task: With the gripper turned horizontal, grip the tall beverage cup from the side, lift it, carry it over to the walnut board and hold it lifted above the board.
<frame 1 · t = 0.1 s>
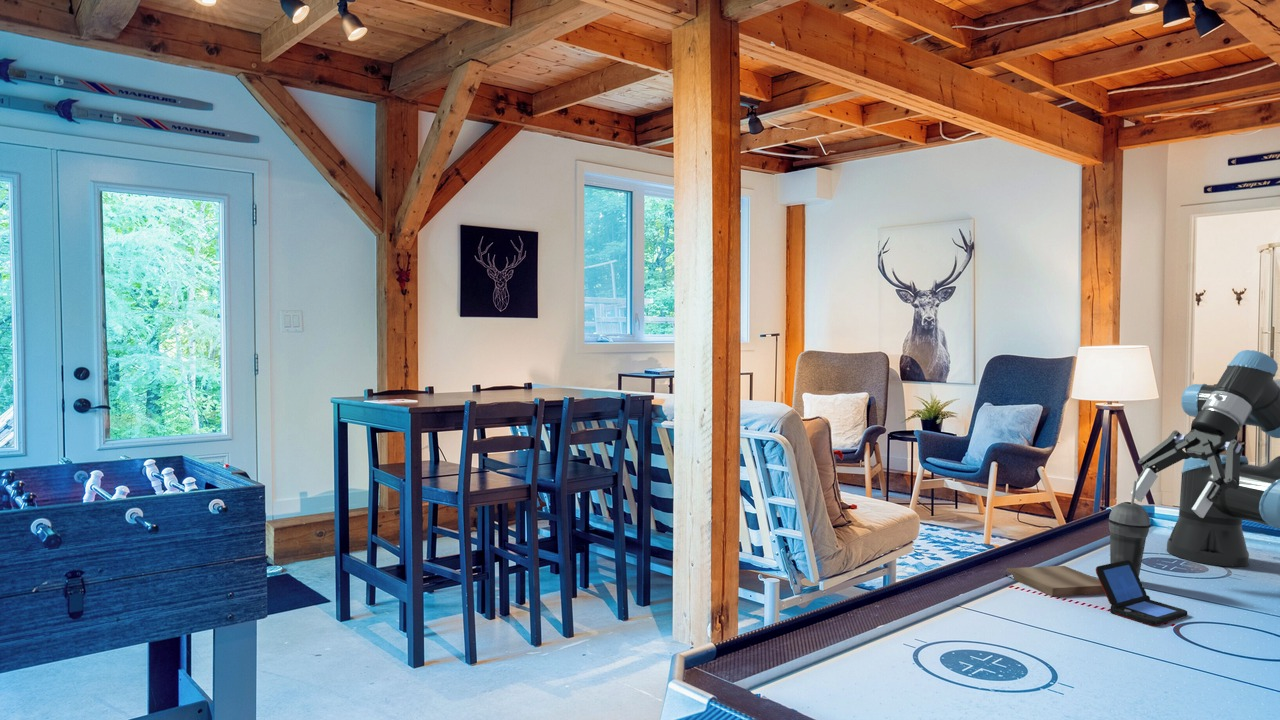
hand: (1165, 505, 165), 15 cm above the table, tool tilted 35°, fingers open, 13 cm apart
beverage cup: (1124, 581, 165), on the table
handheld game console: (1138, 613, 147), on the table
walnut board: (1058, 584, 161), on the table
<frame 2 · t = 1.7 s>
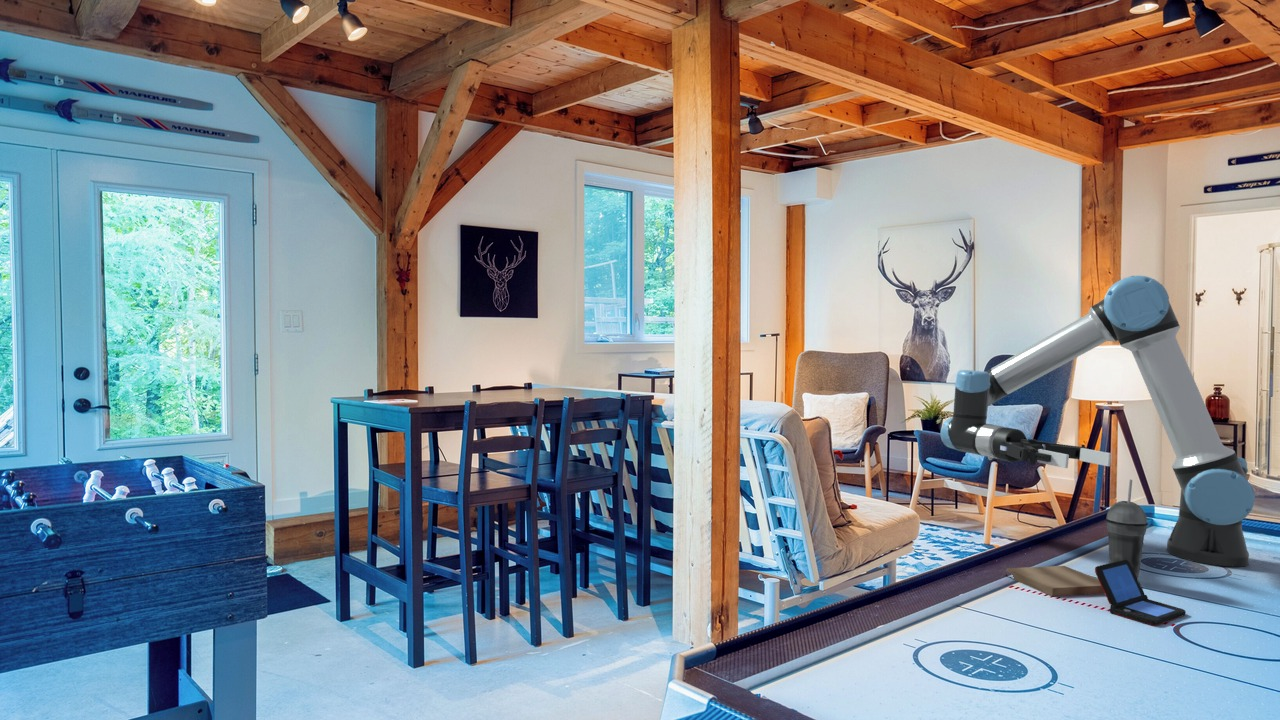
hand: (1089, 460, 172), 22 cm above the table, tool horizontal, fingers open, 13 cm apart
nothing on the table moved.
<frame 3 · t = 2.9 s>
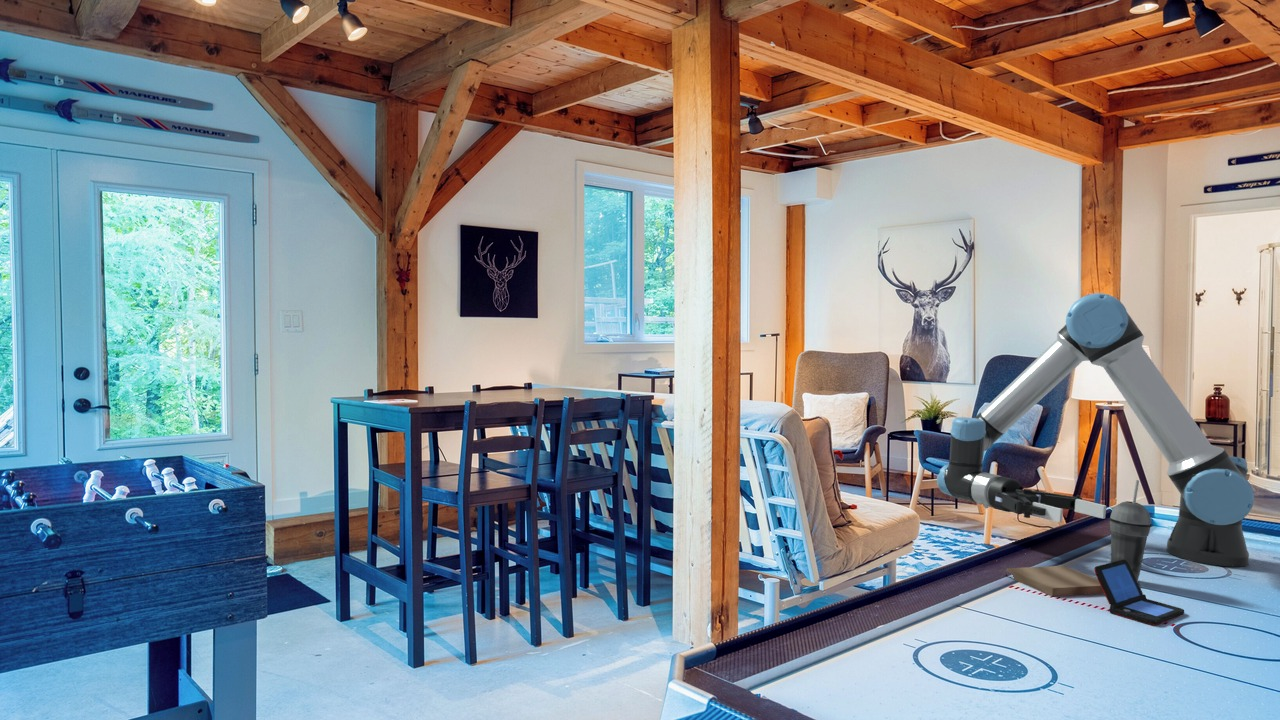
hand: (1083, 514, 173), 11 cm above the table, tool horizontal, fingers open, 13 cm apart
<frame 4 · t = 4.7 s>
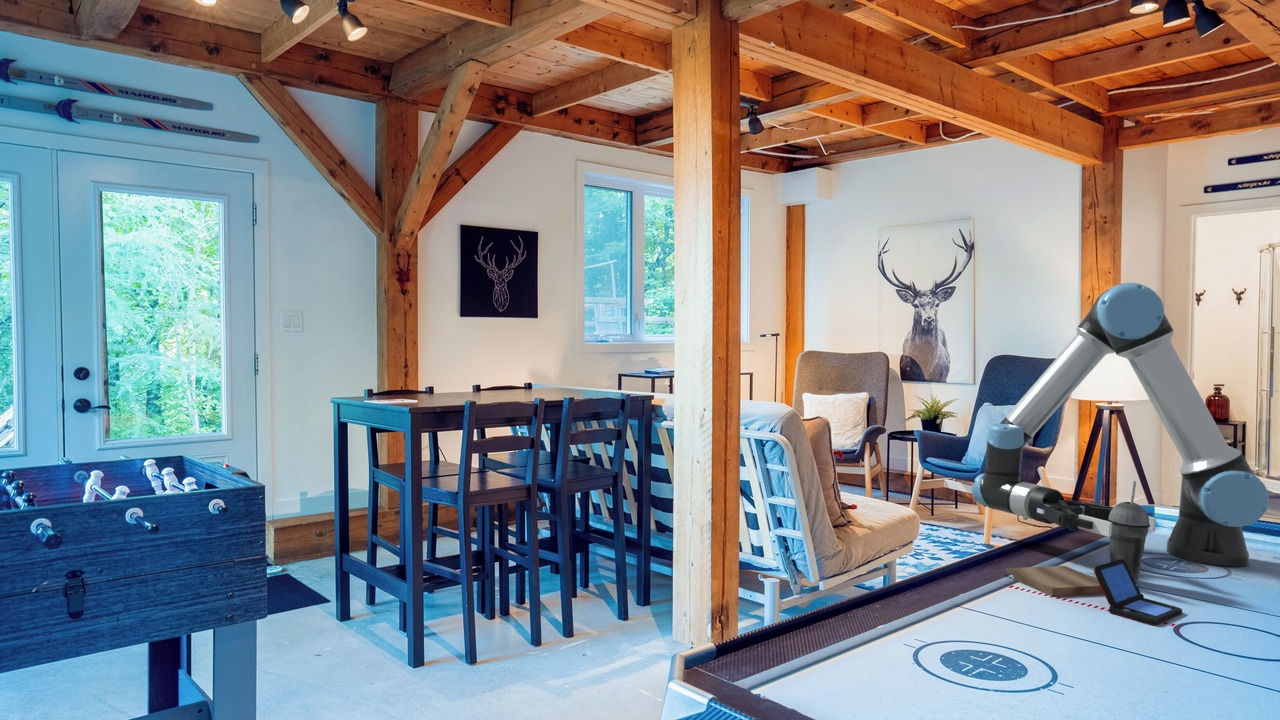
hand: (1133, 527, 164), 11 cm above the table, tool horizontal, fingers open, 13 cm apart
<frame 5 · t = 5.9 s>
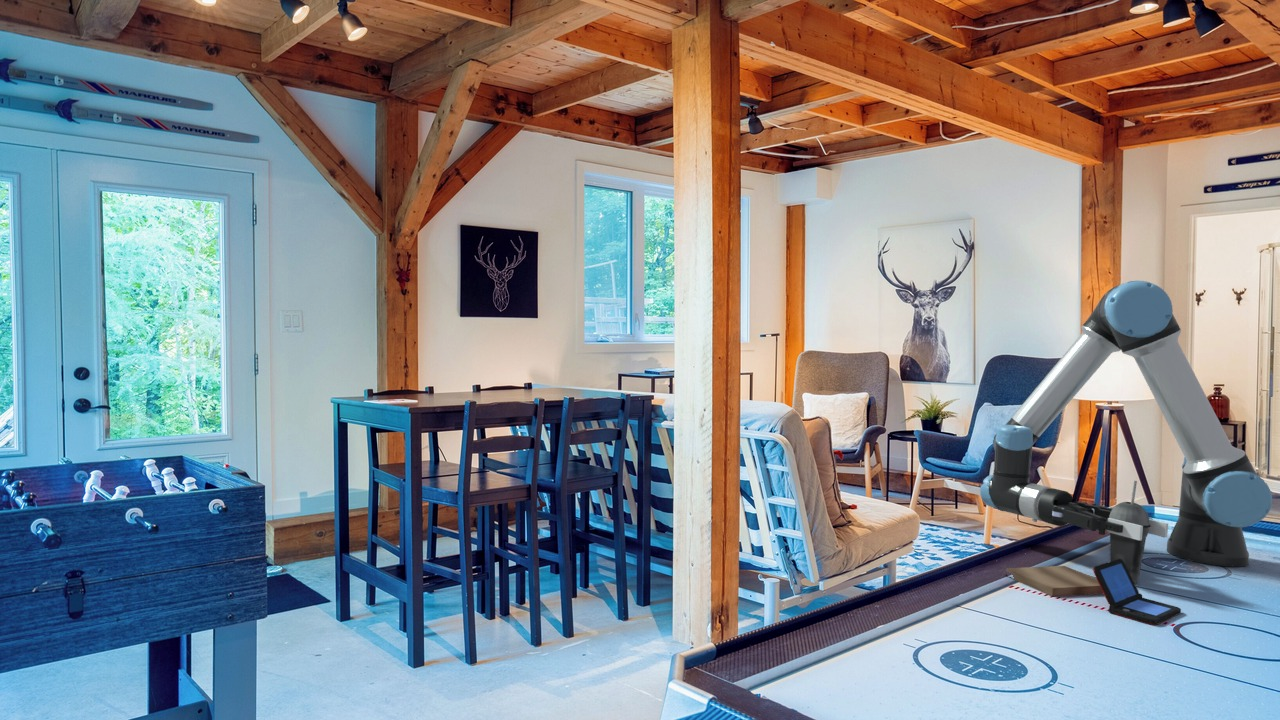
hand: (1153, 531, 160), 11 cm above the table, tool horizontal, fingers closed on beverage cup, 7 cm apart
beverage cup: (1124, 581, 165), on the table, touching gripper
everything else where it was.
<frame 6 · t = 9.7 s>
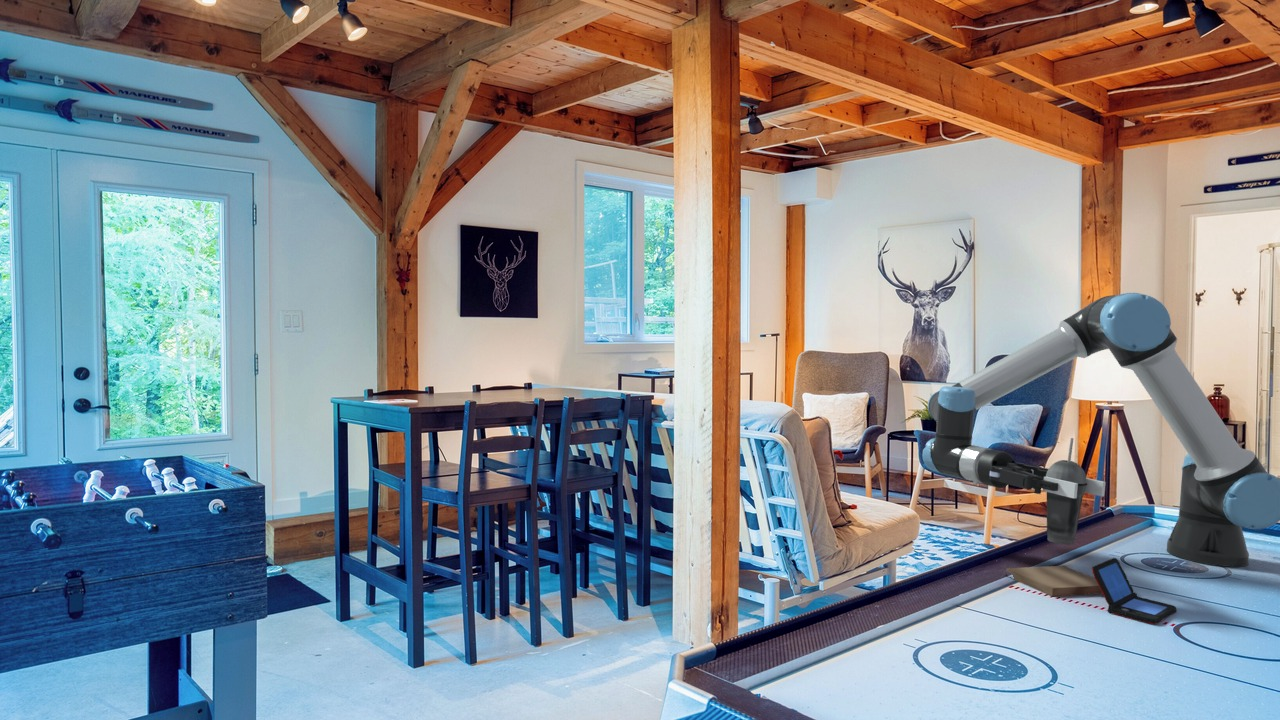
hand: (1089, 490, 155), 19 cm above the table, tool horizontal, fingers closed on beverage cup, 7 cm apart
beverage cup: (1060, 542, 160), point 8 cm above the table, touching gripper
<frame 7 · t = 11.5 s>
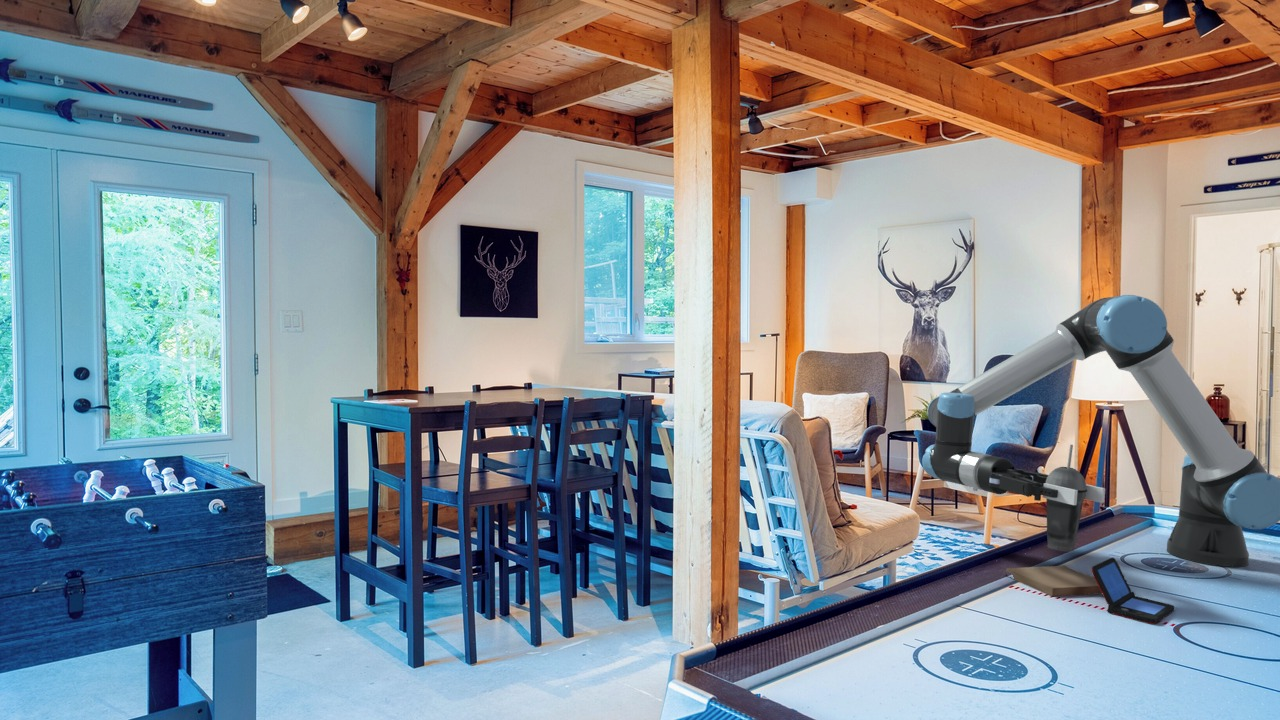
hand: (1089, 496, 155), 18 cm above the table, tool horizontal, fingers closed on beverage cup, 7 cm apart
beverage cup: (1060, 549, 160), point 7 cm above the table, touching gripper
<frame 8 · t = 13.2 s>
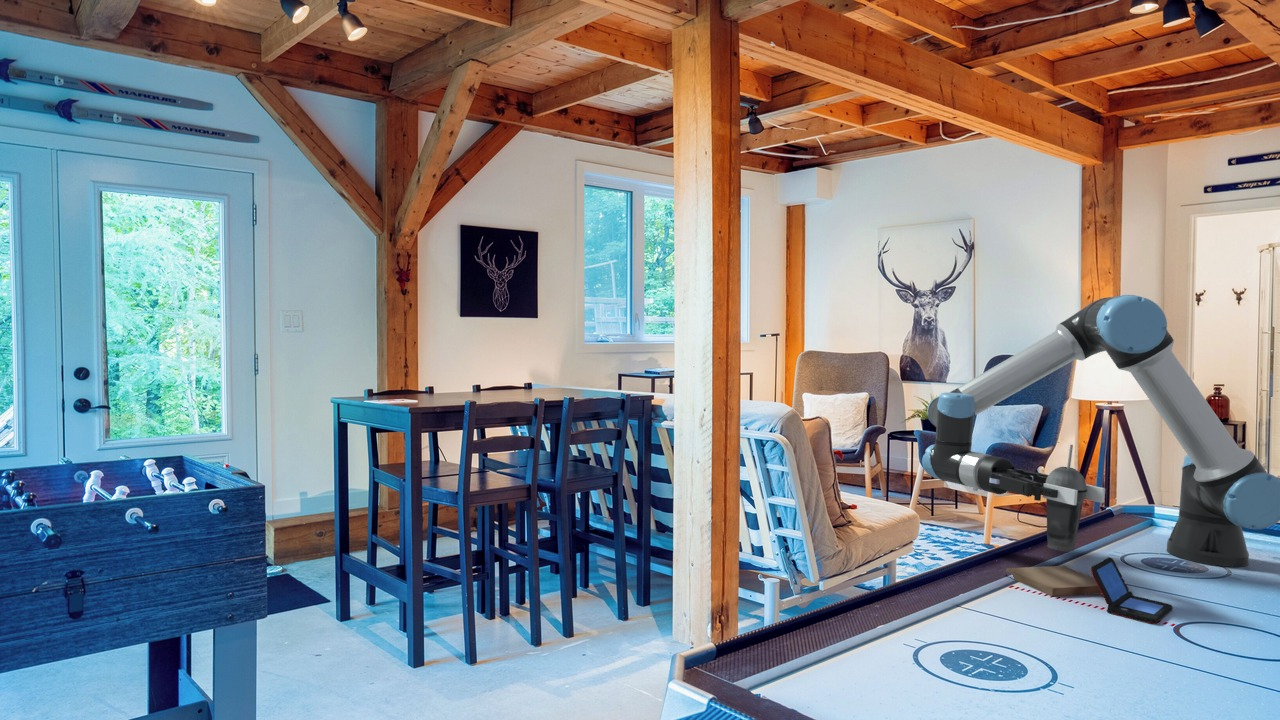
hand: (1089, 496, 155), 18 cm above the table, tool horizontal, fingers closed on beverage cup, 7 cm apart
beverage cup: (1060, 549, 160), point 7 cm above the table, touching gripper
at the end: the gripper is holding beverage cup; beverage cup point 6.8 cm above the table; beverage cup 0.0 cm from the walnut board (horizontally) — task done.
